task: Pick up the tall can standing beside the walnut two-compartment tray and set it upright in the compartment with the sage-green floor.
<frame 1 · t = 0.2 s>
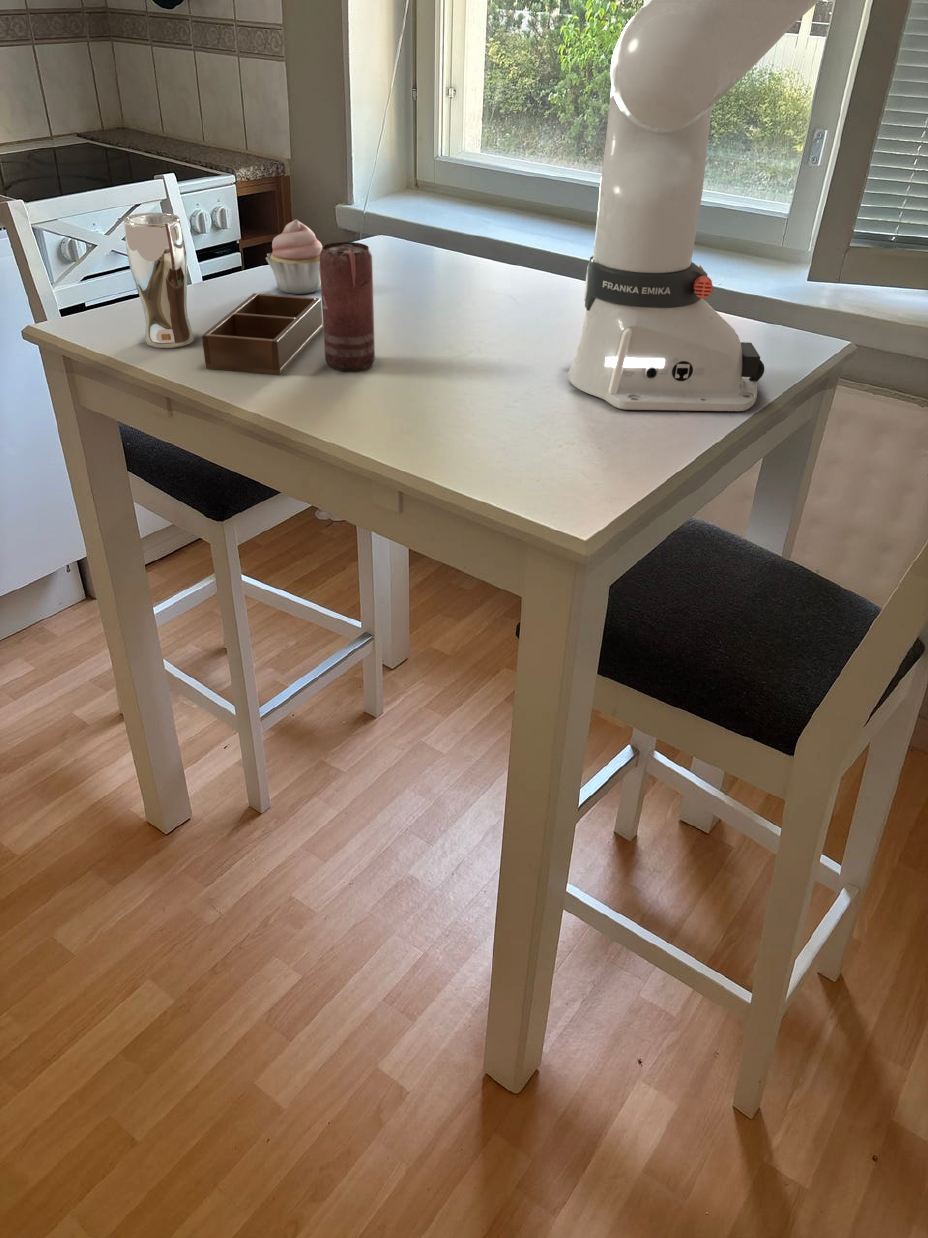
cupcake: (300, 290, 145), on the table
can: (350, 365, 118), on the table
beer glass: (170, 342, 124), on the table
tray: (267, 347, 123), on the table
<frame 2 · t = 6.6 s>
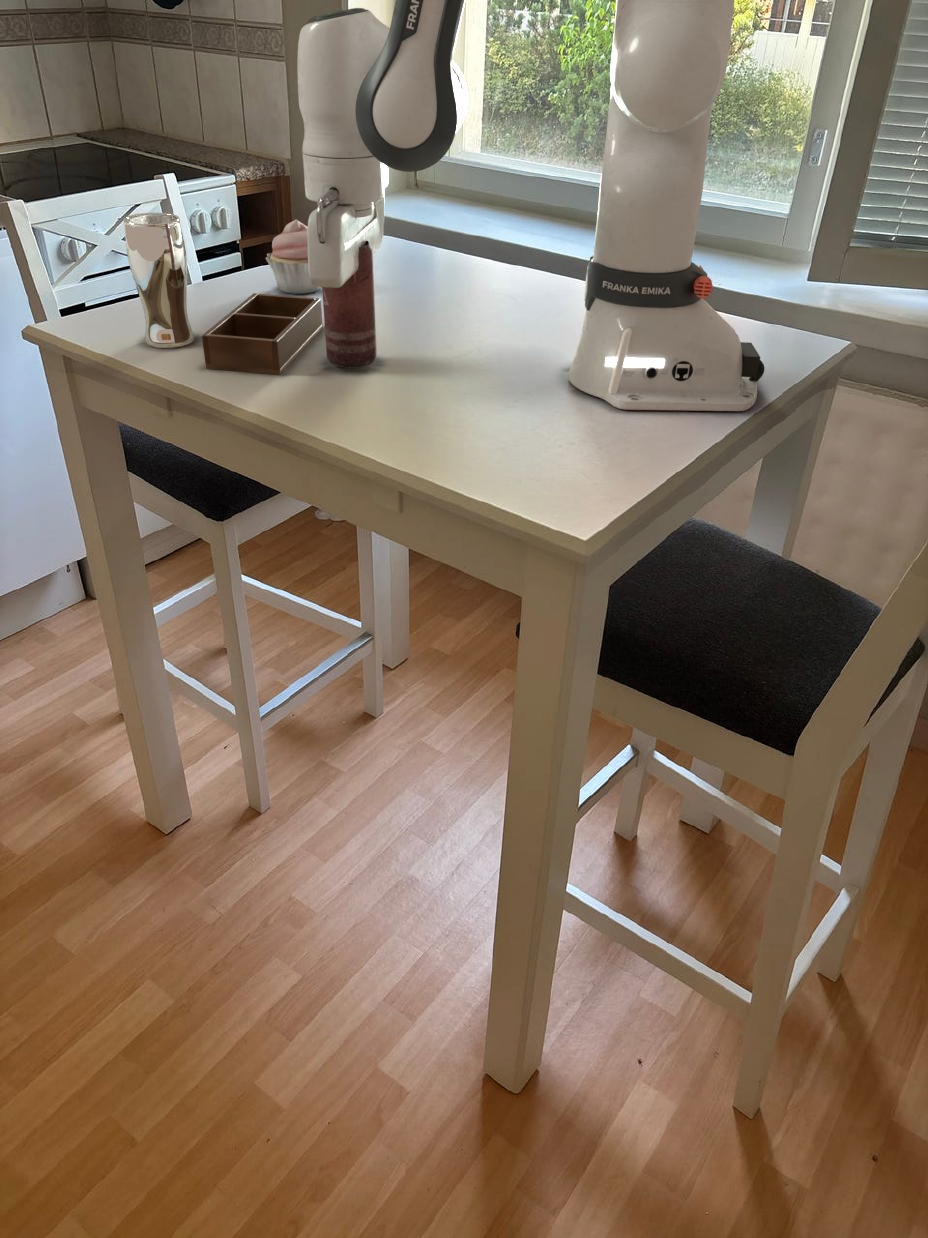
hand: (350, 305, 114), 7 cm above the table, tool pointing down, fingers closed, pressing on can
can: (352, 361, 118), on the table, touching gripper
everything else where it was.
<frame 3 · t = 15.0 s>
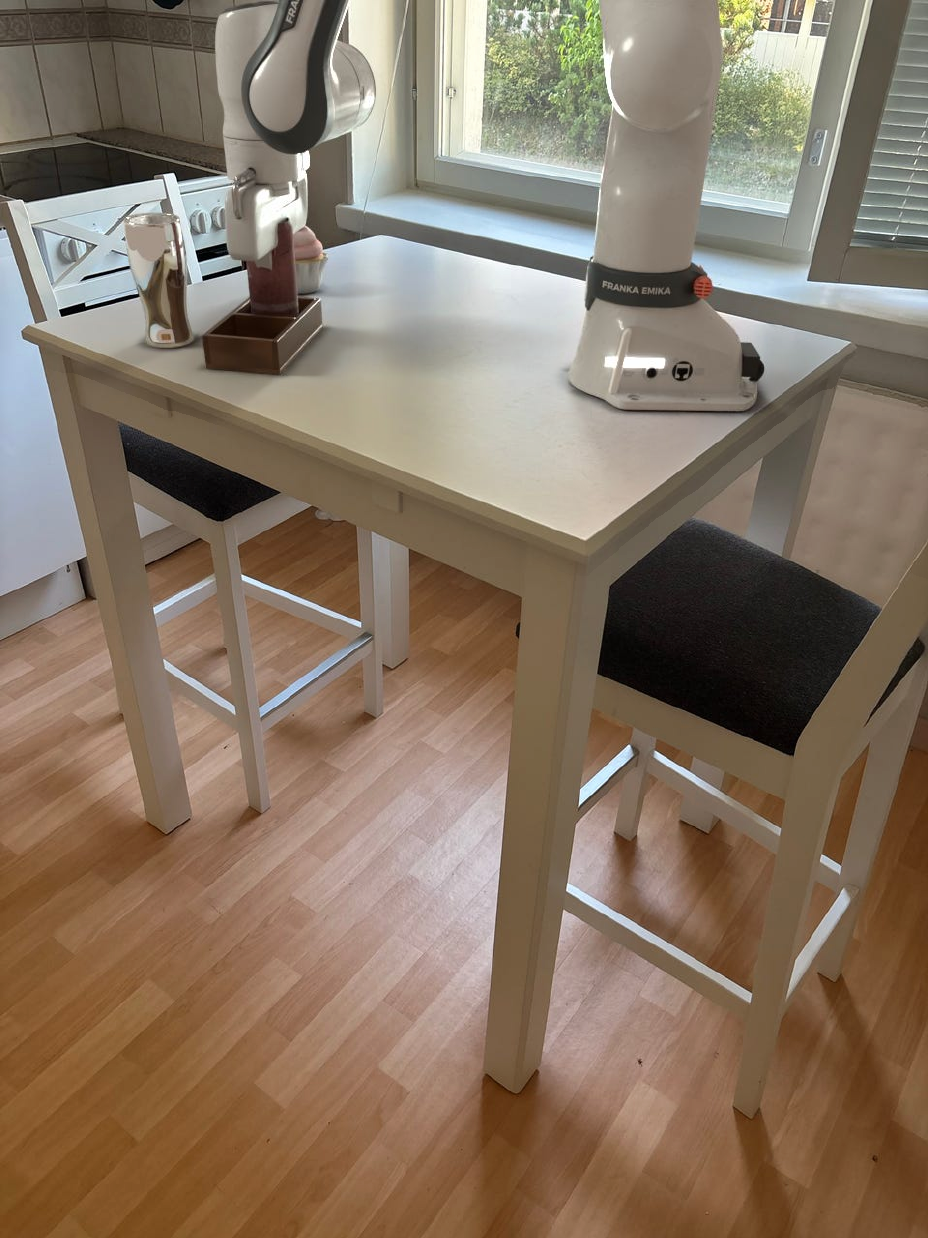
hand: (273, 280, 122), 7 cm above the table, tool pointing down, fingers closed
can: (277, 332, 126), point 1 cm above the table, touching tray
everything else where it was.
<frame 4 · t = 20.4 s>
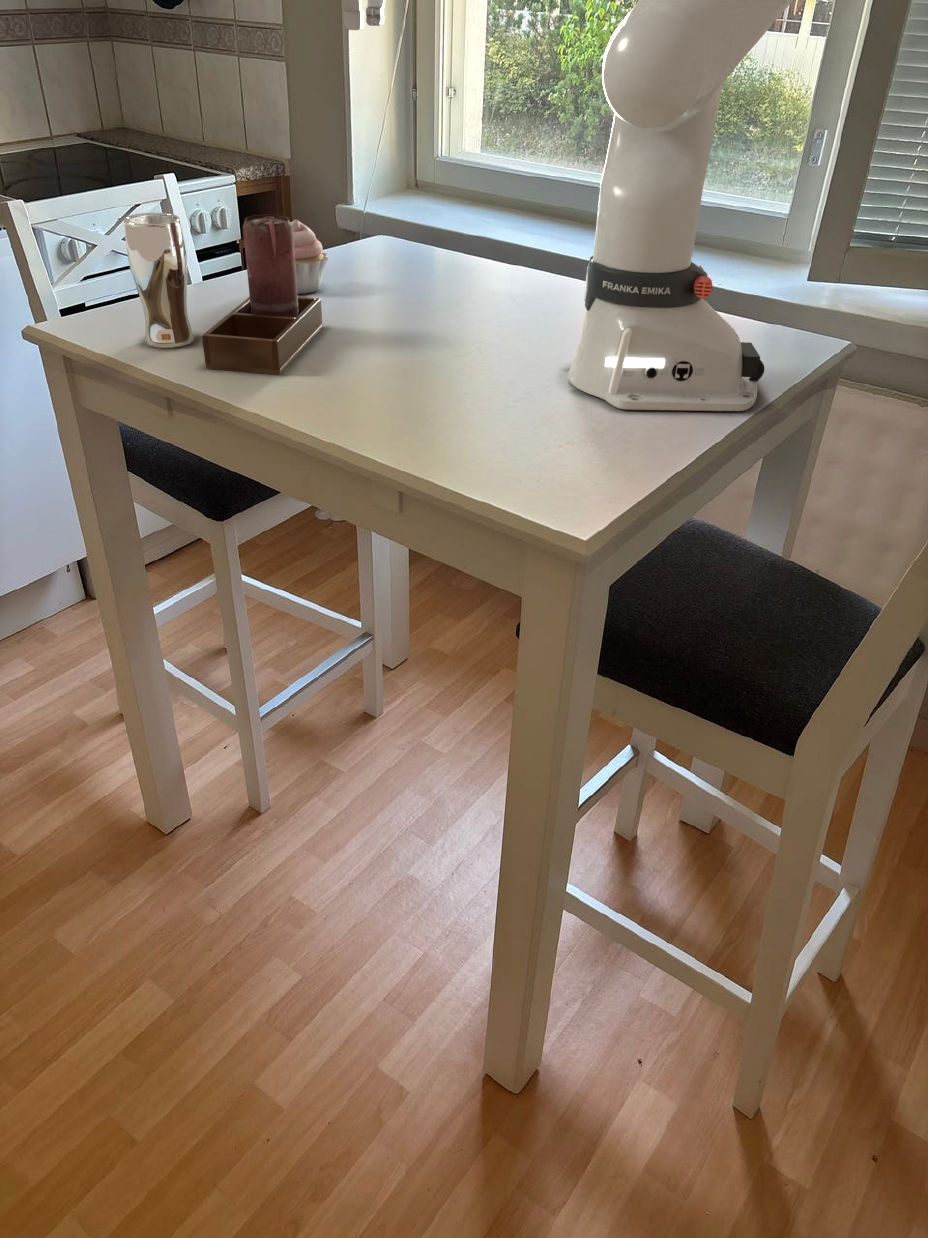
hand: (365, 27, 108), 35 cm above the table, tool pointing down, fingers open, 8 cm apart
nothing on the table moved.
at the end: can 0.1 cm from the target spot in the tray, point 0.6 cm above the tray's base; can tilted 0°; the gripper is holding nothing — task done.
